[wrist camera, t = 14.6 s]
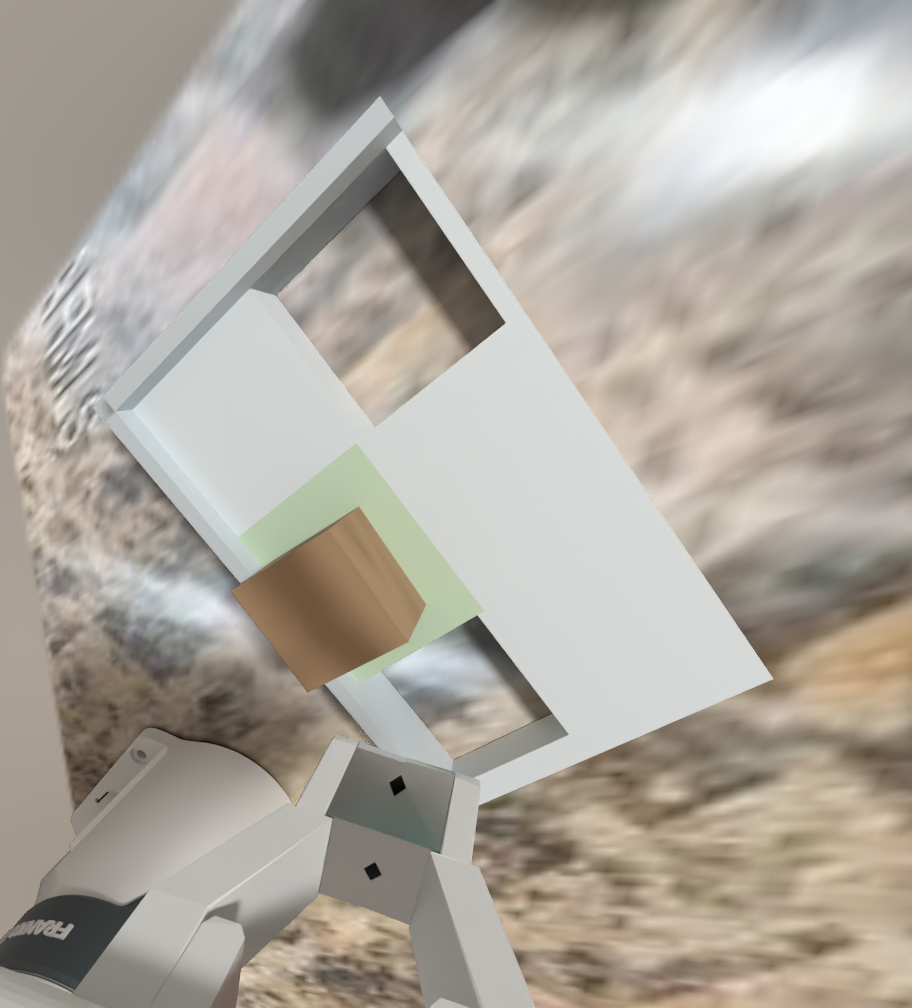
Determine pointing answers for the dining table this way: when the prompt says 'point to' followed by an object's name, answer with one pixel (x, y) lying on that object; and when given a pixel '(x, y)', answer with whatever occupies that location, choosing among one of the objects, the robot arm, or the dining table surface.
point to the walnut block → (333, 601)
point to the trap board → (434, 490)
